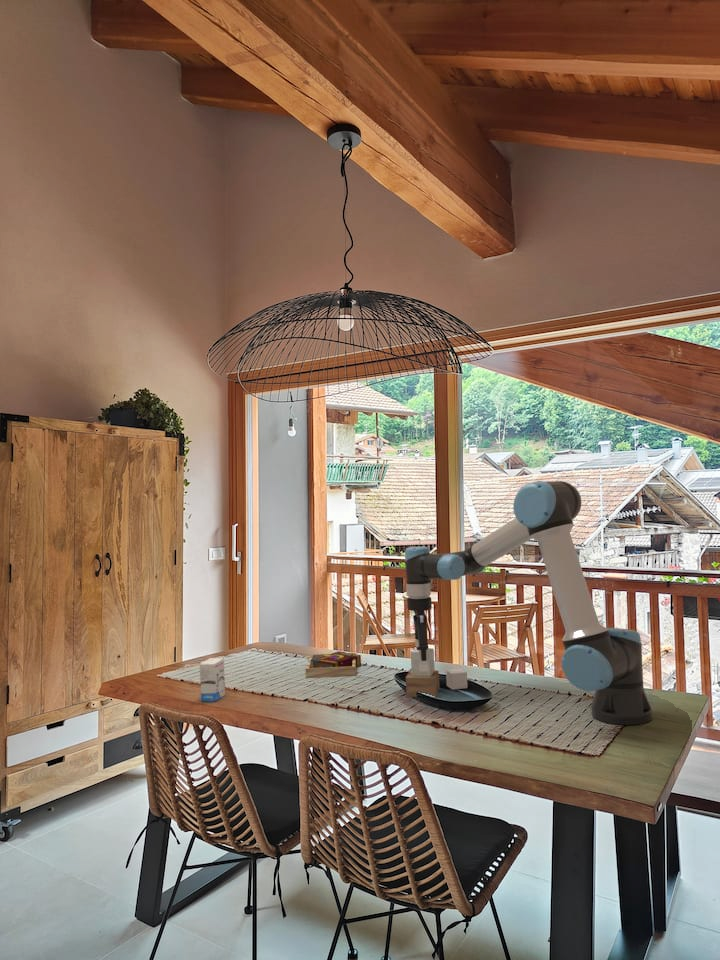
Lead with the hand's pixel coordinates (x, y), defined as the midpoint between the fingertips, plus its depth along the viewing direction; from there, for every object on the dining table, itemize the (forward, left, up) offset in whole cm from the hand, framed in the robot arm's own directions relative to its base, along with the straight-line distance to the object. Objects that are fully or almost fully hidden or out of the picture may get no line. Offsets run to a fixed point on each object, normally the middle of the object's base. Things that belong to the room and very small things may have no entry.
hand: (422, 665), depth 214 cm
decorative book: (+35, +29, -9) cm, 46 cm away
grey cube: (+5, -11, -8) cm, 15 cm away
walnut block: (0, 0, -8) cm, 9 cm away
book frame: (+35, +30, -8) cm, 47 cm away
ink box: (+4, +66, -8) cm, 67 cm away
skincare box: (0, 0, -3) cm, 3 cm away
